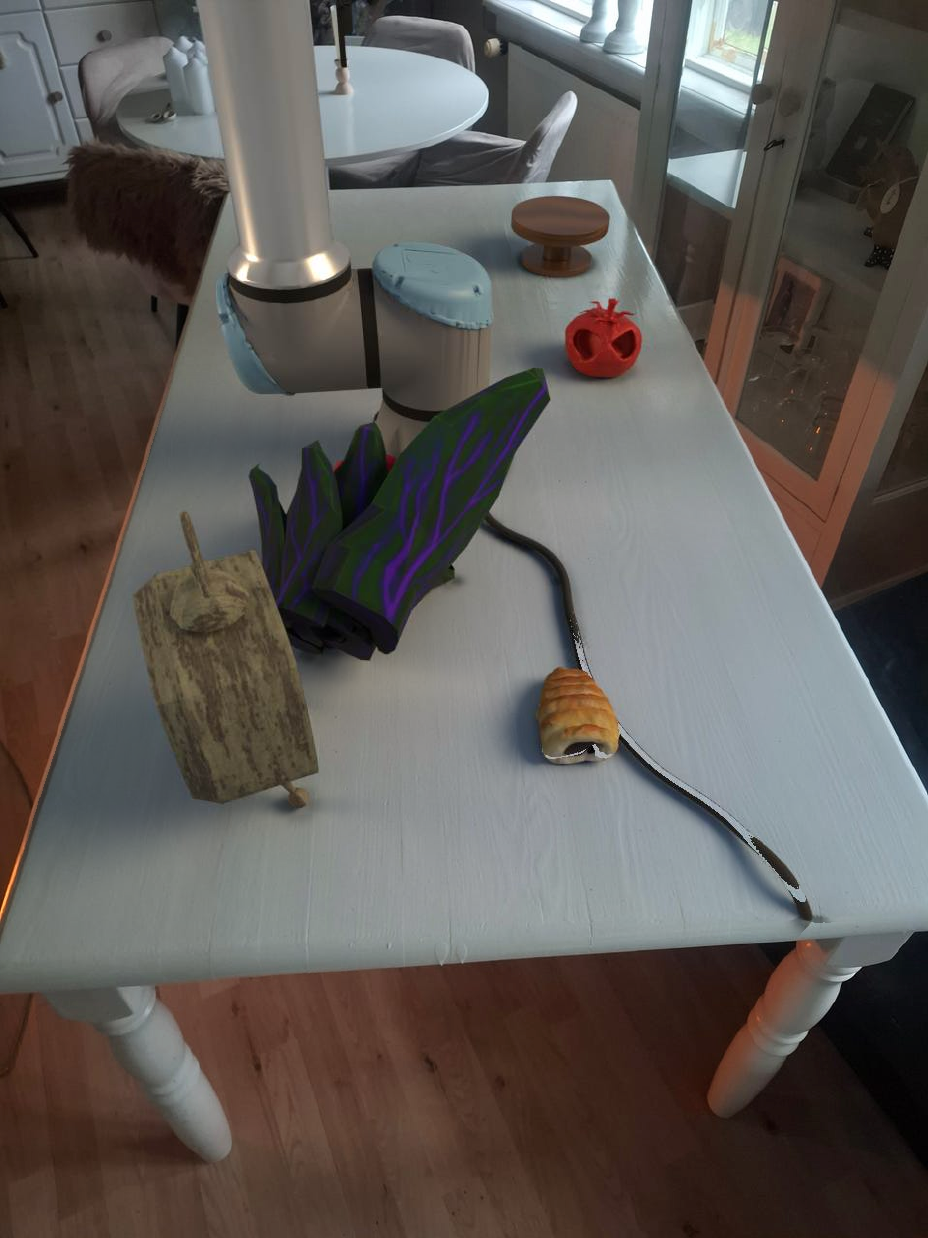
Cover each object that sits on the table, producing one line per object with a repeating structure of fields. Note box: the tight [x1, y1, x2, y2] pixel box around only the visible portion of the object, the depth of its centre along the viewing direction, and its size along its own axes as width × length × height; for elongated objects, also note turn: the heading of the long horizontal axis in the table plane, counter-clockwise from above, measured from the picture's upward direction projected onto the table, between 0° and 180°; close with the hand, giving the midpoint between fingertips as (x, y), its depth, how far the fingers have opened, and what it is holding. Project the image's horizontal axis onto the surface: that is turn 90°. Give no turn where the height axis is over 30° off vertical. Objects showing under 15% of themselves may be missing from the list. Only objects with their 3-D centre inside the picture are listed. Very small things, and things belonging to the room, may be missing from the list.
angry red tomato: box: [564, 298, 643, 378], centre depth 112 cm, size 10×10×9 cm
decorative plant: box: [248, 367, 552, 662], centre depth 79 cm, size 21×26×30 cm
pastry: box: [535, 666, 619, 765], centre depth 73 cm, size 9×7×4 cm
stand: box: [510, 195, 611, 278], centre depth 134 cm, size 15×15×7 cm
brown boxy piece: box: [132, 510, 320, 809], centre depth 62 cm, size 14×9×25 cm, turn 22°
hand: (291, 66), depth 112 cm, fingers open, 13 cm apart
